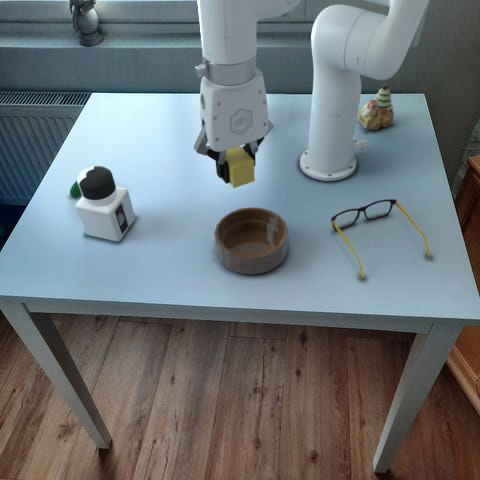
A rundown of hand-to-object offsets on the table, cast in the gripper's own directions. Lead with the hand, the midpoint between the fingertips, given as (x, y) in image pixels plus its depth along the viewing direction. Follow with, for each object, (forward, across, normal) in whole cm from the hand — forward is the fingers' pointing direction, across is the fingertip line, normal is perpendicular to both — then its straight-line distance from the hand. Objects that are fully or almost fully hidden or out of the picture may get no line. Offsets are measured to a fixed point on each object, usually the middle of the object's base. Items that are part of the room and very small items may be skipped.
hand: (236, 174), depth 82 cm
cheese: (0, 0, 0) cm, 0 cm away
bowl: (+15, 0, -4) cm, 16 cm away
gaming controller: (+15, -22, +28) cm, 39 cm away
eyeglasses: (+15, +23, -14) cm, 31 cm away
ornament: (+15, +47, +20) cm, 54 cm away
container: (+15, -22, +16) cm, 31 cm away
